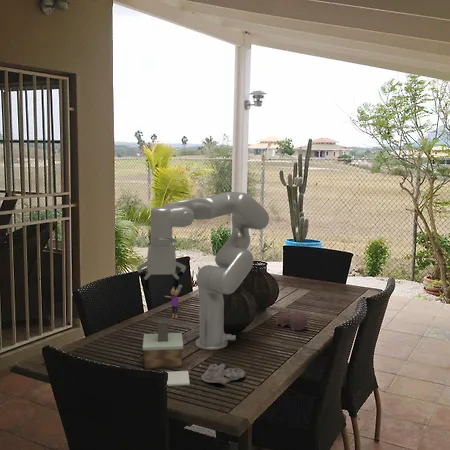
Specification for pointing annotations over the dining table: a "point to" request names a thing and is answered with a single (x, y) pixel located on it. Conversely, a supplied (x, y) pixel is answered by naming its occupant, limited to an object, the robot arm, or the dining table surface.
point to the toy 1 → (175, 300)
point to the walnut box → (163, 358)
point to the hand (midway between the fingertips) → (161, 289)
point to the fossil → (222, 374)
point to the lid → (162, 339)
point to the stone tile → (178, 378)
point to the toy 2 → (292, 320)
